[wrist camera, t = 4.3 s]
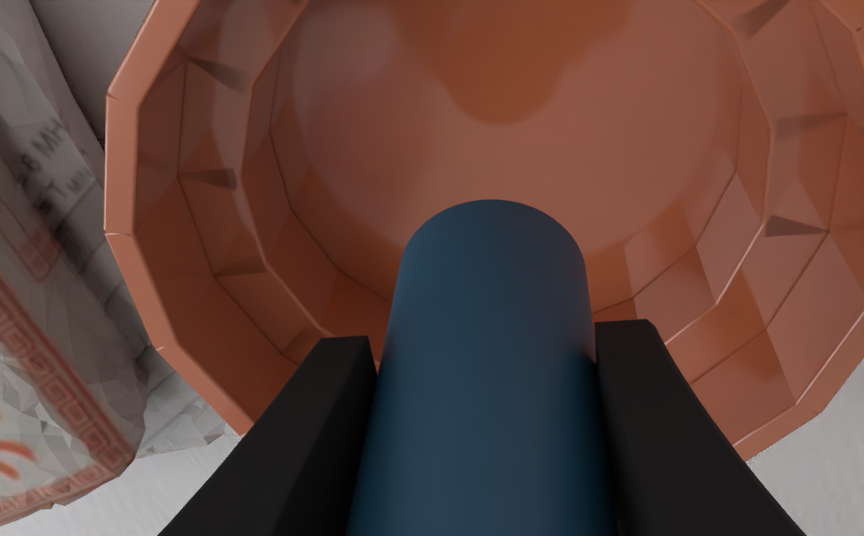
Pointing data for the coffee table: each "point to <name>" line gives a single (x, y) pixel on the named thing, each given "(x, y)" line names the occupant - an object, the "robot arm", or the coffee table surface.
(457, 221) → the glue stick
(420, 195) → the bowl
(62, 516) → the coffee table surface
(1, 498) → the packaged product
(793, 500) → the coffee table surface
